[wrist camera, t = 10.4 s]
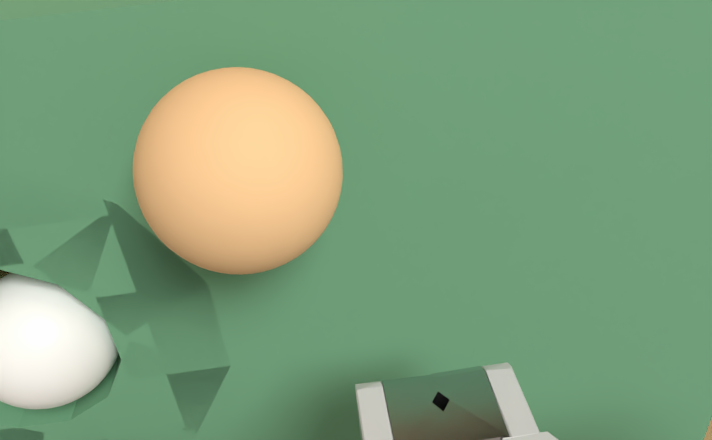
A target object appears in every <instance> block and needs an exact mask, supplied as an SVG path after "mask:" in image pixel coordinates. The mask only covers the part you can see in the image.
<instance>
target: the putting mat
mask: <svg viewBox="0 0 712 440" xmlns="http://www.w3.org/2000/svg"><path fill="white" fill-rule="evenodd" d="M228 67H245V68H253V69H259V70H263V71H266V72H269V73H273V74H275V75H278V76H280V77H282V78H284V79H286V80H288V81H290V82H291V83H293V84H295V85H296V86H298V87H299V88H301V89H302V90H303V91H304V92H306V93H307V94H308V95H309V96H310V97H311V98H312V99H313V100H314V101H315V102H316V103H317V104H318V105H319V107H320V108H321V109H322V111H323V112H324V114H325V115H326V117H327V118H328V120H329V121H330V123H331V125H332V127H333V129H334V131H335V134H336V137H337V140H338V143H339V146H340V150H341V156H342V168H343V180H342V189H341V193H340V197H339V201H338V205H337V208H336V210H335V212H334V215H333V217H332V219H331V221H330V222H329V224H328V226H327V227H326V229H325V231H324V232H323V233H322V234H321V236H320V237H319V238H318V239H317V240H316V241H315V243H314V244H313V245H311V246H310V247H309V248H308V249H307V250H306V251H305V252H304V253H302V254H301V255H299V256H298V257H297V258H295V259H293V260H291V261H290V262H288V263H286V264H284V265H281V266H279V267H277V268H274V269H271V270H268V271H264V272H260V273H254V274H243V275H239V274H225V273H218V272H214V271H210V270H207V269H204V268H201V267H198V266H196V265H194V264H192V263H190V262H188V261H186V260H185V259H183V258H181V257H180V256H178V255H177V254H176V253H174V252H173V251H172V250H170V249H169V248H168V247H167V246H166V245H165V244H164V243H163V242H162V241H161V240H160V239H159V238H158V237H157V235H156V234H155V233H154V232H153V230H152V229H151V227H150V226H149V224H148V223H147V221H146V219H145V218H144V216H143V214H142V211H141V209H140V206H139V204H138V201H137V197H136V193H135V189H134V183H133V155H134V151H135V146H136V142H137V138H138V135H139V133H140V130H141V128H142V125H143V124H144V122H145V120H146V118H147V117H148V115H149V114H150V112H151V110H152V109H153V107H154V106H155V105H156V104H157V103H158V101H159V100H160V99H161V98H162V97H163V96H165V95H166V94H167V93H168V92H169V91H170V90H171V89H173V88H174V87H175V86H177V85H178V84H180V83H181V82H183V81H184V80H186V79H188V78H191V77H193V76H195V75H197V74H200V73H203V72H206V71H209V70H215V69H220V68H228ZM0 270H3V271H7V272H11V273H15V274H19V275H22V276H26V277H30V278H34V279H38V280H42V281H46V282H49V283H53V284H57V285H59V286H60V287H62V288H63V289H64V290H66V291H67V292H68V293H70V294H71V295H72V296H74V297H75V298H76V299H78V300H79V301H80V302H82V303H83V304H84V305H86V306H87V307H88V308H90V309H91V310H93V311H94V312H95V313H97V314H98V315H99V316H101V317H102V318H103V319H105V321H106V324H107V326H108V329H109V331H110V334H111V336H112V338H113V341H114V343H115V346H116V348H117V351H118V353H119V354H118V356H117V359H116V361H115V363H114V365H113V367H112V368H111V370H110V371H109V373H108V374H107V376H106V377H105V378H104V379H103V380H102V381H101V382H100V383H99V384H98V386H96V387H95V388H94V389H93V390H92V391H90V392H89V393H87V394H86V395H84V396H83V397H81V398H79V399H77V400H75V401H73V402H71V403H68V404H66V405H63V406H59V407H54V408H49V409H37V410H36V409H24V408H19V407H15V406H11V405H8V404H6V403H3V402H1V401H0V440H361V435H360V426H359V418H358V409H357V400H356V391H355V384H360V383H368V382H375V381H382V380H390V379H399V378H407V377H415V376H424V375H431V374H432V373H439V372H445V371H451V370H457V369H464V368H470V367H476V366H481V367H482V366H486V365H493V364H500V363H507V362H508V363H509V364H510V365H511V366H512V369H513V371H514V373H515V376H516V378H517V380H518V383H519V385H520V387H521V390H522V392H523V394H524V397H525V399H526V401H527V404H528V406H529V408H530V411H531V413H532V415H533V418H534V420H535V422H536V425H537V427H538V429H539V432H547V431H548V432H549V433H550V434H552V435H553V436H554V437H556V438H557V439H558V440H704V437H705V434H706V432H707V429H708V426H709V423H710V420H711V417H712V0H0Z"/></svg>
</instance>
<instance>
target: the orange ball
mask: <svg viewBox="0 0 712 440" xmlns="http://www.w3.org/2000/svg"><path fill="white" fill-rule="evenodd" d="M342 180H343V168H342V156H341V150H340V146H339V143H338V140H337V137H336V134H335V131H334V129H333V127H332V125H331V123H330V121H329V120H328V118H327V117H326V115H325V114H324V112H323V111H322V109H321V108H320V107H319V105H318V104H317V103H316V102H315V101H314V100H313V99H312V98H311V97H310V96H309V95H308V94H307V93H306V92H304V91H303V90H302V89H301V88H299V87H298V86H296V85H295V84H293V83H291V82H290V81H288V80H286V79H284V78H282V77H280V76H278V75H275V74H273V73H269V72H266V71H263V70H259V69H253V68H245V67H228V68H220V69H215V70H209V71H206V72H203V73H200V74H197V75H195V76H193V77H191V78H188V79H186V80H184V81H183V82H181V83H180V84H178V85H177V86H175V87H174V88H173V89H171V90H170V91H169V92H168V93H167V94H166V95H165V96H163V97H162V98H161V99H160V100H159V101H158V103H157V104H156V105H155V106H154V107H153V109H152V110H151V112H150V114H149V115H148V117H147V118H146V120H145V122H144V124H143V125H142V128H141V130H140V133H139V135H138V138H137V142H136V146H135V151H134V155H133V183H134V189H135V193H136V197H137V201H138V204H139V206H140V209H141V211H142V214H143V216H144V218H145V219H146V221H147V223H148V224H149V226H150V227H151V229H152V230H153V232H154V233H155V234H156V235H157V237H158V238H159V239H160V240H161V241H162V242H163V243H164V244H165V245H166V246H167V247H168V248H169V249H170V250H172V251H173V252H174V253H176V254H177V255H178V256H180V257H181V258H183V259H185V260H186V261H188V262H190V263H192V264H194V265H196V266H198V267H201V268H204V269H207V270H210V271H214V272H218V273H225V274H239V275H243V274H254V273H260V272H264V271H268V270H271V269H274V268H277V267H279V266H281V265H284V264H286V263H288V262H290V261H291V260H293V259H295V258H297V257H298V256H299V255H301V254H302V253H304V252H305V251H306V250H307V249H308V248H309V247H310V246H311V245H313V244H314V243H315V241H316V240H317V239H318V238H319V237H320V236H321V234H322V233H323V232H324V231H325V229H326V227H327V226H328V224H329V222H330V221H331V219H332V217H333V215H334V212H335V210H336V208H337V205H338V201H339V197H340V193H341V189H342Z"/></svg>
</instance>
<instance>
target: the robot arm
mask: <svg viewBox="0 0 712 440" xmlns="http://www.w3.org/2000/svg"><path fill="white" fill-rule="evenodd" d="M355 391H356V400H357V409H358V418H359V426H360V435H361V440H558V439H557V438H556V437H554V436H553V435H552V434H550V433H549V432H548V431H547V432H539V429H538V427H537V425H536V422H535V420H534V418H533V415H532V413H531V411H530V408H529V406H528V404H527V401H526V399H525V397H524V394H523V392H522V390H521V387H520V385H519V383H518V380H517V378H516V376H515V373H514V371H513V369H512V366H511V365H510V364H509V363H508V362H507V363H500V364H493V365H486V366H482V367H481V366H476V367H470V368H464V369H457V370H451V371H445V372H439V373H432V374H431V375H424V376H415V377H407V378H399V379H390V380H382V381H375V382H368V383H360V384H355Z"/></svg>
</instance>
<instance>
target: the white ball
mask: <svg viewBox="0 0 712 440" xmlns="http://www.w3.org/2000/svg"><path fill="white" fill-rule="evenodd" d="M118 354H119V353H118V351H117V348H116V346H115V343H114V341H113V338H112V336H111V334H110V331H109V329H108V326H107V324H106V321H105V319H103V318H102V317H101V316H99V315H98V314H97V313H95V312H94V311H93V310H91V309H90V308H88V307H87V306H86V305H84V304H83V303H82V302H80V301H79V300H78V299H76V298H75V297H74V296H72V295H71V294H70V293H68V292H67V291H66V290H64V289H63V288H62V287H60V286H59V285H57V284H53V283H49V282H46V281H42V280H38V279H34V278H30V277H26V276H22V275H19V274H15V273H9V274H7V275H6V276H4V277H2V278H1V279H0V401H1V402H3V403H6V404H8V405H11V406H15V407H19V408H24V409H36V410H37V409H49V408H54V407H59V406H63V405H66V404H68V403H71V402H73V401H75V400H77V399H79V398H81V397H83V396H84V395H86V394H87V393H89V392H90V391H92V390H93V389H94V388H95V387H96V386H98V384H99V383H100V382H101V381H102V380H103V379H104V378H105V377H106V376H107V374H108V373H109V371H110V370H111V368H112V367H113V365H114V363H115V361H116V359H117V356H118Z"/></svg>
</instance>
